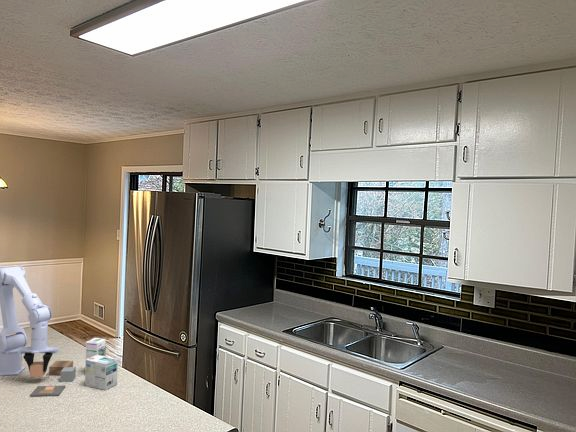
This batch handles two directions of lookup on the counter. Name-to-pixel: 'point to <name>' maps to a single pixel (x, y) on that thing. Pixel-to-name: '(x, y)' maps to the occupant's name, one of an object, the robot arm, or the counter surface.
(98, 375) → the light bulb box
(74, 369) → the slate-grey block
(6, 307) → the robot arm
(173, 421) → the counter surface
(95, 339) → the syrup box
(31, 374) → the terracotta block
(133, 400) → the counter surface
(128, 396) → the counter surface
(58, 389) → the card
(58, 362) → the walnut block
